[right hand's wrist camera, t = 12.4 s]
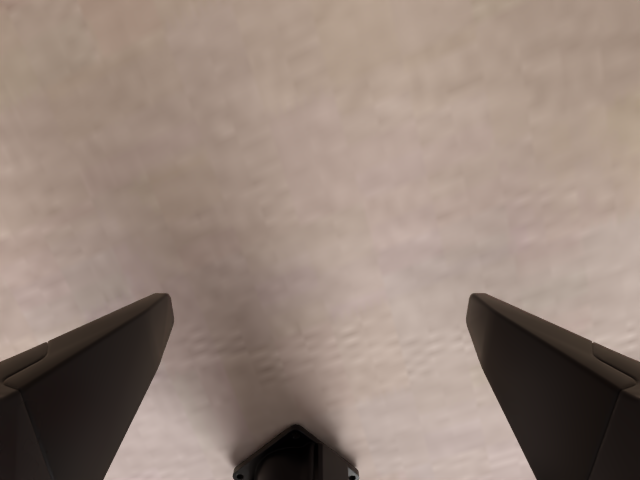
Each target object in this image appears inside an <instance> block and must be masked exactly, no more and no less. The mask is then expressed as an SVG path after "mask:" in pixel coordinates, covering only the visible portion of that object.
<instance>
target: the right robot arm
mask: <svg viewBox="0 0 640 480" xmlns="http://www.w3.org/2000/svg"><path fill="white" fill-rule="evenodd" d="M173 323H174V316H173V309H172V303H171V298H170V295H169V294H167V293H155V294H152V295H150V296H148V297H145V298H143V299H141V300H139V301H136V302H134V303H132V304H130V305H128V306H125V307H123V308H121V309H119V310H116V311H114V312H112V313H110V314H108V315H105V316H103V317H101V318H99V319H96V320H94V321H92V322H90V323H88V324H85V325H83V326H81V327H79V328H76V329H74V330H72V331H70V332H67V333H65V334H63V335H61V336H59V337H56V338H54V339H52V340H50V341H48V343H47V342H45V343H43V344H41V345H38V346H36V347H34V348H32V349H29V350H27V351H25V352H23V353H20V354H18V355H16V356H13V357H11V358H8V359H6V360H4V361H1V362H0V480H103V479H104V477H105V475H106V473H107V471H108V469H109V467H110V465H111V463H112V461H113V459H114V457H115V455H116V453H117V451H118V449H119V447H120V445H121V442H122V440H123V438H124V436H125V434H126V432H127V430H128V428H129V426H130V424H131V422H132V420H133V418H134V416H135V414H136V412H137V410H138V408H139V406H140V404H141V402H142V400H143V398H144V396H145V394H146V392H147V390H148V388H149V386H150V383H151V381H152V379H153V377H154V375H155V373H156V371H157V369H158V367H159V364H160V361H161V359H162V356H163V353H164V350H165V347H166V344H167V341H168V339H169V336H170V333H171V330H172V327H173ZM466 323H467V327H468V330H469V333H470V336H471V339H472V341H473V344H474V347H475V350H476V353H477V356H478V359H479V361H480V364H481V367H482V369H483V371H484V373H485V375H486V377H487V379H488V381H489V383H490V386H491V388H492V390H493V392H494V394H495V396H496V398H497V400H498V402H499V404H500V406H501V408H502V410H503V412H504V414H505V416H506V418H507V420H508V422H509V424H510V426H511V428H512V430H513V432H514V434H515V436H516V438H517V440H518V443H519V445H520V447H521V449H522V451H523V453H524V455H525V457H526V459H527V461H528V463H529V465H530V467H531V469H532V471H533V473H534V475H535V477H536V479H537V480H640V362H639V361H636V360H634V359H632V358H629V357H627V356H624V355H622V354H620V353H617V352H615V351H613V350H611V349H608V348H606V347H604V346H602V345H599V344H597V343H595V342H593V343H592V341H590V340H588V339H586V338H584V337H581V336H579V335H577V334H575V333H573V332H570V331H568V330H566V329H564V328H561V327H559V326H557V325H555V324H552V323H550V322H548V321H546V320H544V319H541V318H539V317H537V316H535V315H532V314H530V313H528V312H526V311H524V310H521V309H519V308H517V307H515V306H512V305H510V304H508V303H506V302H504V301H501V300H499V299H497V298H495V297H492V296H490V295H488V294H485V293H473V294H471V295H470V298H469V303H468V309H467V316H466ZM233 479H234V480H359V472H358V470H357V469H356V468H355V467H353V466H352V465H351V464H350V463H348V462H347V461H346V460H344V459H343V458H342V457H340V456H339V455H338V454H337V453H335V452H334V451H333V450H331V449H330V448H329V447H327V446H326V445H325V444H324V443H322V442H321V441H320V440H318V439H317V438H316V437H314V436H313V435H312V434H311V433H309V432H308V431H307V430H305V429H304V428H303V427H301V426H300V425H292V426H290V427H289V428H288V429H286V430H285V431H284V432H282V433H281V434H280V435H278V436H277V437H276V438H274V439H273V440H272V441H270V442H269V443H268V444H266V445H265V446H264V447H262V448H261V449H260V450H259V451H257V452H256V453H255V454H253V455H252V456H251V457H249V458H248V459H247V460H245V461H244V462H243V463H241V464H240V465H239V466H237V467H236V468H235V469H234V473H233Z"/></svg>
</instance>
